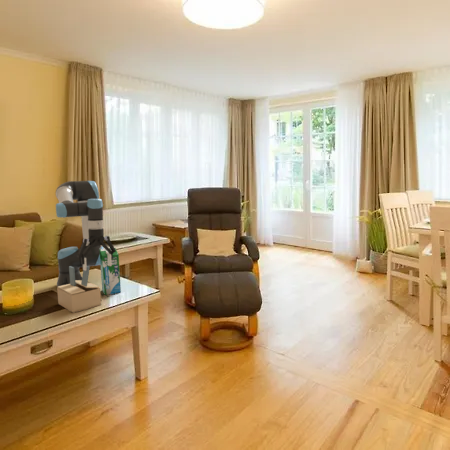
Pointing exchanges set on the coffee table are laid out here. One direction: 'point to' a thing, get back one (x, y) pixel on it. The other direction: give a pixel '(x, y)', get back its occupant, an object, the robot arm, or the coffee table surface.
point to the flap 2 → (86, 280)
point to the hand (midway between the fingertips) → (97, 268)
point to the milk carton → (110, 273)
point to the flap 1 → (71, 284)
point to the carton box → (79, 299)
